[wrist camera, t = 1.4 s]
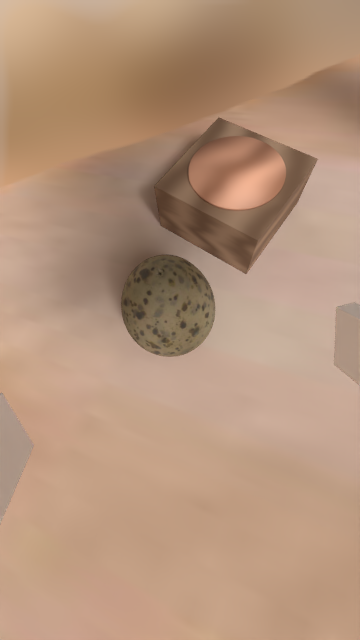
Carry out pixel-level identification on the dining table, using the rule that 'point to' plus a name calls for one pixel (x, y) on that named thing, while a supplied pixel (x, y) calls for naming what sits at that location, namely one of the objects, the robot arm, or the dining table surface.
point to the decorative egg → (168, 306)
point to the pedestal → (232, 192)
